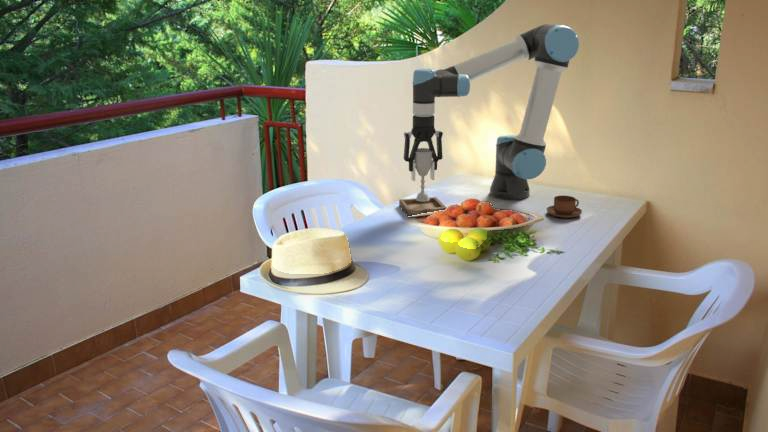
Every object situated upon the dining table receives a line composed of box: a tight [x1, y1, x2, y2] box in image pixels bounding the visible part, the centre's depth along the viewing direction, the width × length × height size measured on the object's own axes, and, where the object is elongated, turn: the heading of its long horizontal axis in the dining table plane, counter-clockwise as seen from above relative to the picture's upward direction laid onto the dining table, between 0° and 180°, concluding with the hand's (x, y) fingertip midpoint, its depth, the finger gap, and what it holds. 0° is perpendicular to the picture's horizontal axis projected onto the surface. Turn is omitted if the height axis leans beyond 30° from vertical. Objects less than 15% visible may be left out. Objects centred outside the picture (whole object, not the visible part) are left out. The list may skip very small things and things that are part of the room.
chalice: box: [414, 147, 433, 201], centre depth 245 cm, size 7×7×18 cm
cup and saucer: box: [546, 195, 583, 219], centre depth 242 cm, size 12×12×6 cm
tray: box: [398, 196, 448, 217], centre depth 248 cm, size 14×14×2 cm
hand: (422, 179), depth 245 cm, fingers closed on chalice, 6 cm apart
